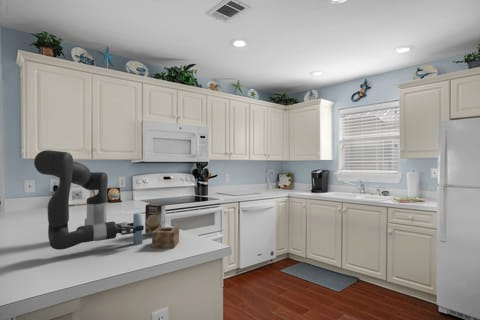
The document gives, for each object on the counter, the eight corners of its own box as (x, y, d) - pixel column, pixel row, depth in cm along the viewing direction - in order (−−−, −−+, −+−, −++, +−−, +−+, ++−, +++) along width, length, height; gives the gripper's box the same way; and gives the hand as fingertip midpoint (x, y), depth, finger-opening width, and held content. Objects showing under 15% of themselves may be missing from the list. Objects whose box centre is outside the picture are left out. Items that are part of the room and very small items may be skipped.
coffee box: (144, 235, 148) (144, 205, 148) (149, 232, 154) (149, 203, 154) (161, 236, 147) (161, 205, 147) (165, 233, 153) (165, 203, 153)
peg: (131, 244, 131) (132, 214, 131) (135, 242, 135) (135, 213, 135) (140, 244, 131) (140, 214, 131) (143, 242, 135) (143, 213, 135)
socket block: (151, 247, 126) (152, 232, 126) (158, 241, 136) (158, 227, 136) (174, 248, 126) (174, 232, 126) (179, 241, 136) (179, 227, 136)
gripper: (107, 225, 118) (145, 220, 129) (99, 220, 129) (135, 216, 140) (107, 243, 118) (145, 237, 128) (99, 236, 129) (135, 231, 140)
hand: (140, 226), depth 134 cm, fingers open, 8 cm apart
